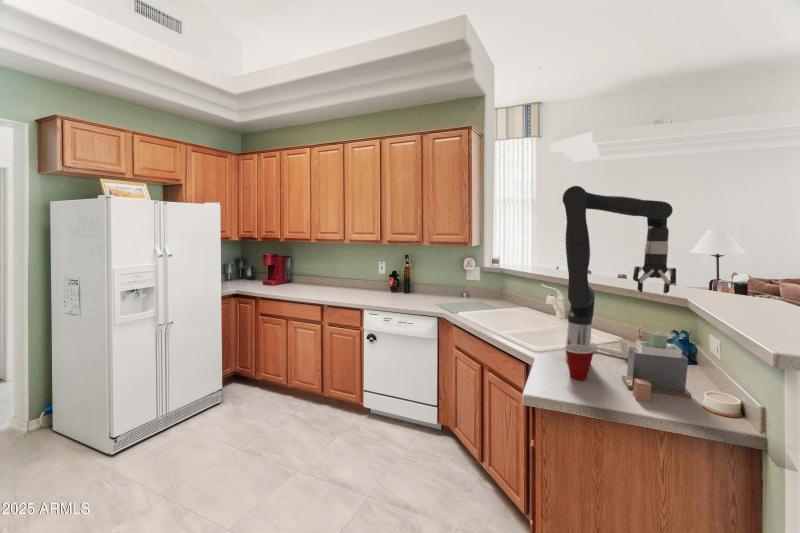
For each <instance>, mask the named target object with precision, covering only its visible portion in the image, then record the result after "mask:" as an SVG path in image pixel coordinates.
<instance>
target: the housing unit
mask: <svg viewBox="0 0 800 533" xmlns="http://www.w3.org/2000/svg"><path fill="white" fill-rule="evenodd" d="M628 349H629V356H628V358H627V370H626V375H621V380H622V382H623V383H624V385H625V386H626V389H628V390H633V388H634V379H642V380H648V381H649V383H650V384H651V393H656V394H662V395H663V394H664V395H669V396H678V397H685V398H692V393H691V391H689V390H688V389H687V388H686V386H687V375H688V364H689V358H688V357H686V356H685V355H684V354H683V350H681V349H680V348H679V347H678V346H677V345H675V344H674V343H667V346H666V349H663V348H654V347H650V341H645V340H635V345H634V346H628Z"/></svg>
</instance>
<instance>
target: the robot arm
mask: <svg viewBox="0 0 800 533" xmlns="http://www.w3.org/2000/svg"><path fill="white" fill-rule="evenodd" d="M562 203H563V205H564V208H565V216H566V217H565V218H566V229H565V254H566V263H567V264H566V265H567V272H568V273H567V274H568V288H567V289H568V290H567V299H568V301H569V303H570V310H569V314H568V318H567V331H566V332H567V333H566V338H565V339H566V340H565V346H567V345H585V346H590V342H592V341H591V339H592V323H593V317H594V312H595V311H594V310H595V299H596V298H595V292H594V290H593V289H592V288H591V287H590V286H589V285H590V284H589V278H588V276H589V274H588V273H589V266H590V260H591V245H590V244H591V243H590V236H589V234H590V233H589V229H588V223H587V222H588V221H587V210H595V211H596V210H598V211H603V212H608V213H614V214H619V215H625V216H632V217H642V218H643V217H644V218H646V222H647V223H646V224H647V234H646V243H645V248H644V258H643V266H638V265H635V266H634V268H633V269H634V270H633V274H632V275H633V276H632V280H633V281H634V282H637V291H639V293H643V291H644V290H643V289H644V283H643V282H645V281H646V279H648V278H651V279H653V278H656V279H660V278H661V280H662V281H663V282H664V283H663V294H668V293H669V292H670V288H671V287H670V285H672V284H675V283H676V282H677V269H676V267H668V266H667V264H668V254H669V233H670V231H669V227H668V218H669V217H671V216H672V214H673V210H674V209H673V207H672V205H671V204H670V203H669V202H666V201H662V200H651V199H649V200H648V199H640V198H635V197H629V196H621V195H620V196H619V195H617V196H616V195H603V194H596V193H591V192H587V191H586V189H585V188H583V187H581V186H579V185H572V186H570V187H568V188H567V189H566V190H565V191H564V192H563V195H562ZM640 272H643V274H642V275H641V276H640V277H639V274H640ZM667 272H668V273H669V276H670V277H669V278H668V277H667V275H665V274H666V273H667ZM564 357H565V361H566V362H567V363H568V358H567V353H566V352H565V355H564Z"/></svg>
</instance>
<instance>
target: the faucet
mask: <svg viewBox="0 0 800 533" xmlns="http://www.w3.org/2000/svg"><path fill="white" fill-rule="evenodd" d="M606 338H608V339H614V340H617V341H618V340H619V347H620V350H619V349H615V348H611V347H609V348H608V347H605V346H604V347H603V346H599V345H597V343H595V342H593V341H590V347H593V348H594V349H595V352H597V350H598V351H600V352H601V351H602V352H604V353H608V354H610V355H613V356H619V357H622V359H624V360H625V359H627V360H628V356H629V346H628V343H627V341H626V340H624V339H622V338H620V337H610V336H609V337H606ZM595 352H594V353H595Z"/></svg>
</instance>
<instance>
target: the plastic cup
mask: <svg viewBox="0 0 800 533" xmlns="http://www.w3.org/2000/svg"><path fill="white" fill-rule="evenodd" d="M563 347H564V348H563V349H564V350H565V353H567V358H568V362H567V365H568V369H569V371H568V372H569V377H570V378H571V379H573V380H576V381H586V380H587V378H588V375H589V372H590V368H591V363H592V360H593V356H594V353H595V349H594V348H593V347H590V346H585V345H567V346H566V345H565V346H563Z"/></svg>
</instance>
